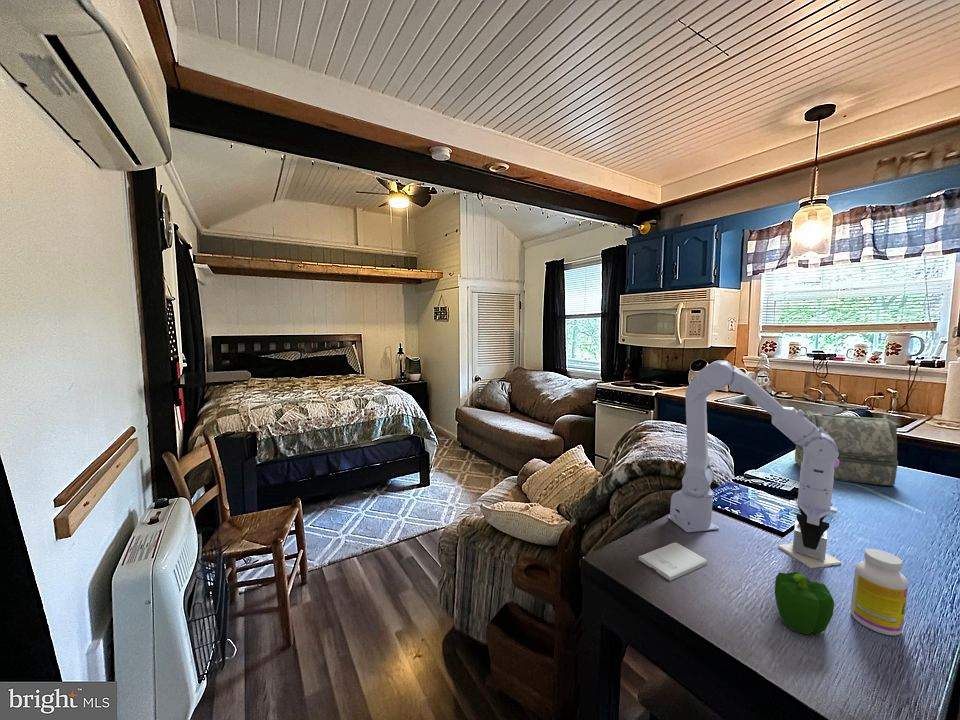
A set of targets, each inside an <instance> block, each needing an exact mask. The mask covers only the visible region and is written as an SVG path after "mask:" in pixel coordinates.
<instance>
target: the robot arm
mask: <svg viewBox="0 0 960 720" xmlns="http://www.w3.org/2000/svg"><path fill="white" fill-rule="evenodd" d="M727 386H729V388H728V389H727V390H728V391H733V392H738V393H743V394H744V395H745V396H746V397H748V398H749V399H750V400H751V401H752V402H754V403H755V404H756V405H758V406H759V407H760V408H762V409H763V410H764V411H765V412H766V413H768V414H769V415H770V416H771V424H772V425H773V426H774V427H775V428H777V429H778V431H780V432H781V433H782V434H783V435H785V436H786V437H787V438H789V440H790V441H792V442H793V444H795V445H796V444H797V445H800V446H802V447H803V452H804V455H803V462H802V463H801V468H800V474H799V481H798V482H799V483H798V491H797V492H798V494H797V499H796V500H795V501H796V505H797V508H798V510H799V512H800V513H796V521H798V523H799V525H800V528H801V532H802V540H803V545H804V547H807V548H810V549H814V550H816V548H817V546H818V544H819V541H820V539H821V537H822V535H823V533H824V532H825V531H826V530H827V531H828V529H829V528H830V525H831V524H830V522H826V521H823V520H824V519H825V517H827V516H828V515H829V514H831V513H832V514H837V513H838V508H837V507H834V506H831V503H832V495H833V488H834V485H833V479H834V468H833V467H834V465H835V461H834V460H836V459H837V457H838V455H839V452H838V449H837V446H836V444H835V442H834V440H833V439H832V438H831V437H830V435H829V434H828V433H826V432H824V429H822V428H821V427H819V428H818V427H817V426H815V425H814V424H813V423H812V422H810V421H809V420H808V419H807V418H806V417H804V415H805V411H803V410H802V409H798V410H797V409H796V408H795V407H793V406H783V405H782V404H780V403H779V402H778V400H777V399H775V398H774V397H773V396H772V395H771V394H770V393H768V391H766V390H765V389H764V388H763V387H762V386H760V385H759V384H758V382H756V381H755V380H754V379H753V378H751V376H749V375H748V374H746V373H745V372H743V370H741V369H739V368H738V367H734V365H733V364H732V363H731V362H730V361H727V360H724V359H723V360H722V359H717V360H714V361H712V362H710V363H708V365H706V366H704V367H703V368H702V369H700V370H699V371H698V372H697V374H696V375H695V377H694V378H693V379H692V380H691V382H690V383H689V384H688V385H687V387H686V389H685V391H684V392H685V421H686V423H685V424H686V451H687V452H686V453H687V457H686V463H685V471H684V475H683V476H682V479H681V485H682V487H681V489H680V490H678V491H676V492H674V493H672V494H671V496H670V508H669V509H670V510H669V511H670V512H669V515H668V516H667V518H668V519H669V520H670V521H672V522H673V523H674V524H676V525H677V526H678V527H679V528H681V529H682V530H683V531H684V532H686V533H695V532H696V533H697V532H704V531H714V530H716V531H717V530H719V529H720V527H719V526H718V525H716V524H715V523H713V522H712V515H713V514H712V513H713V501H714V498H713V497H714V491H713V490H712V489H711V484H712V482H713V481H714V479H715V473H714V471H713V468H712V467H711V465H710V463H711V462H710V458H709V443H708V441H709V439H708V413H707V409H708V408H707V406H708V405H707V404H708V403H707V398H708V397H709V395H711V394H712V393H713V392H715V391H717V390H721V389H723V388H726V387H727Z"/></svg>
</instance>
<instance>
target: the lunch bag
mask: <svg viewBox="0 0 960 720" xmlns="http://www.w3.org/2000/svg"><path fill="white" fill-rule="evenodd" d="M804 413H805V415H804V417H806V418H807V419H808V420H809V421H810V422H812V423H813V424H814V425H815V426H817V427H818V428H819V427H821V428H822V429H824V432H826V433H828V434H829V435H830V437H831V438H832V439H833V440H834V442H835V444H836V446H837V449H838V452H839V455H838V457H837V459H838V460H839V465H838V466H837V467H836V468H834V481H844V482H851V483H853V482H854V483H862V484H870V485H877V486H878V485H879V486H894V485H896V479H897V471H898V470H897V469H898V466H899V461H898V458H897V457H898V438H897V436H898V433H897V431H898V427H899V424H898V423H897V422H895V421H892V420H890V419H888V418H886V417H883V418H881V417H879V418H878V417H865V416H864V417H863V416H854V415H844V414H830V413H824V412H814V411H811V410H807V411H804ZM803 455H804V452H803V447H802V446H800V445H797V444H795V450H794V462H795V463H796V465H797V466H798V467H799V468H800V469H801V463H802V462H803Z"/></svg>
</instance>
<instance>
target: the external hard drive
mask: <svg viewBox="0 0 960 720" xmlns="http://www.w3.org/2000/svg"><path fill="white" fill-rule="evenodd" d="M638 561H640V562H642V563H643V564H644V565H646V566H648V567H649V568H651V569H652V570H655V572H656V573H658V574H659V575H660V576H662V577H664V578H665V579H667V580H668V581H670V582H671V581H673V580H676V579H677V578H680V577H682V576H684V575H687V574H689V573H691V572H693V571H695V570H697V569H700V568H702V567H704V566H707V564H708V560H707V559H706V558H704V557H703V556H701V555H699V554H698V553H695V552H694V551H692V550H690V549H689V548H687V547H685V546H684V545H682V544H681V543H678V542H673V543H669V544H667V545H664V546H663V547H662V546H661V547H660V548H657V549H654V550H652V551H649V552H647V553H644V554H642V555H639V556H638Z"/></svg>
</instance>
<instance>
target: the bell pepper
mask: <svg viewBox="0 0 960 720" xmlns="http://www.w3.org/2000/svg"><path fill="white" fill-rule="evenodd" d="M774 594H775V595H774V596H775V601H776V606H777V610H778V614H779V616H780V617H781V620H782V622H783V623H784V625H786V626H787V627H788V628H789V629H791V630H793V631H795V632H796V633H799V634H803V635H810V634H811V633H813V634H818V635H819V634H821V633H824V632H825V631H826V629H827V628H828V625H829V623H830V622H831V620H832V617H833V615H834V610H835V609H834V607H835V600H834V599H833V596H832V594H831V592H830V590H829V589H828V587H827V586H826V584H824V583H822V582H819V581H814V580H813V581H811V580H810V579H809V578H808V577H806V576H804V575H803V574H801V573H800V572H798V571H792V572H786V573H785V572H780V571H779V572H778V573H777V575H776V576H775V582H774Z"/></svg>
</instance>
